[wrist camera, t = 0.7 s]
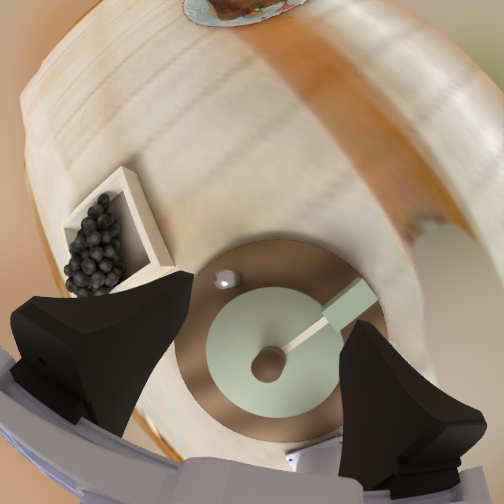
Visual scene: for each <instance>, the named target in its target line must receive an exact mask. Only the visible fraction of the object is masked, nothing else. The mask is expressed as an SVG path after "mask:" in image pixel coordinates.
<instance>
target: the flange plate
mask: <svg viewBox="0 0 504 504" xmlns="http://www.w3.org/2000/svg"><path fill="white" fill-rule="evenodd" d="M377 300H378V298H377V297H376V295H375V294H374V293H373V291H372V290H371V289H370V287H369V286H368V285H367V283H366V282H365V281H364V279H362V278H359V277H357V278H356V279H355V280H354V281H353V282H351V283H350V284H349V285H348V286H347V287H345V288H344V289H343V290H342V291H341V292H339V293H338V294H337V295H336V296H334V297H333V298H332V299H331V300H329V301H328V302H327V303H326V304H324V305H322V304H320V303H319V302H318V301H317V300H315V299H314V298H312V297H310V296H309V295H307V294H304V293H302V292H300V291H297V290H294V289H289V288H284V287H264V288H260V289H255V290H252V291H249V292H246V293H244V294H242V295H240V296H238V297H236V298H235V299H233V300H232V301H230V302H229V303H228V304H227V305H226V306H224V307H223V308H222V310H221V311H220V312H219V313H218V314H217V316H216V317H215V319H214V321H213V323H212V325H211V327H210V329H209V333H208V336H207V342H206V358H207V364H208V368H209V371H210V374H211V376H212V378H213V380H214V382H215V384H216V385H217V387H218V388H219V389H220V391H221V392H222V393H223V394H224V395H225V396H226V397H227V398H228V399H229V400H230V401H231V402H232V403H234V404H235V405H237V406H238V407H240V408H242V409H244V410H246V411H248V412H250V413H253V414H256V415H259V416H264V417H271V418H284V417H291V416H296V415H299V414H302V413H305V412H307V411H309V410H311V409H313V408H315V407H316V406H318V405H319V404H320V403H322V402H323V401H324V400H325V399H326V398H327V397H328V396H329V395H330V394H331V393H332V391H333V390H334V388H335V387H336V385H337V384H338V381H339V354H340V352H341V350H342V348H343V346H344V343H343V338H342V335H341V332H340V330H341V329H343V328H344V327H345V326H347V325H348V324H349V323H350V322H352V321H353V320H354V319H355V318H357V317H358V316H359V315H360V314H362V313H363V312H364V311H365V310H366V309H368V308H369V307H370V306H371V305H372V304H374V303H375V302H376V301H377ZM267 346H276V347H278V348H280V349H281V350H283V352H284V353H285V355H286V364H285V367H284V369H283V372H282V374H281V376H280V377H279V379H277V380H276V381H274V382H271V383H264V382H261V381H259V380H257V379H256V378H255V377H254V376H253V374H252V372H251V364H252V361H253V360H254V358H255V357H256V356H257V355H258V353H259V352H260V351H261V350H262V349H263V348H265V347H267Z"/></svg>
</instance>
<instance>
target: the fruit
mask: <svg viewBox="0 0 504 504" xmlns="http://www.w3.org/2000/svg"><path fill="white" fill-rule="evenodd" d="M109 203H110V197H109V196H108V195H107V194H102V195H100V196H99V197H98V201H97V204H96V205H94V206H92V207H90V208H89V209H88V212H87V215H88V216H87V217H85V218H83V220H82V221H81V229H80V230H79V231H78V232H77V236H76V238H75V240H74V242H72V243H71V244H70V245H69V252H70V253H71V254H72V258H71V259H70V260H69V264H68V265H66V266H65V267H64V273H65V275H67V276H68V279H67V280H66V284H65V286H66V289H67V290H68V291H69V292H71V293H72V292H73V293H74V294H75V295H77V297H78V298H81V297H91V296H99V295H106V294H110V292H111V290H112V289H113V288H115V287H116V286H118V285H117V282H118V278H120V274H122V273H123V272H124V271H125V270H126V265H125V263H124V262H123V261H121V260H120V258H119V256H120V253H119V251H118V250H119V249H120V242H119V241H118V240H117V239H116V237H118V236H119V235H120V232H121V228H120V226H119V225H118V224H117V221H116V220H115V219H116V212H115V210H113V209H110V208H108V207H109ZM114 238H115V239H114ZM90 248H91V249H90Z"/></svg>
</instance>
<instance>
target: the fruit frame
mask: <svg viewBox="0 0 504 504" xmlns="http://www.w3.org/2000/svg"><path fill="white" fill-rule="evenodd" d="M122 191H123V192H124V195H125V198H126V201H127V203H128V206H129V209H130V212H131V214H132V217H133V220H134V222H135V225H136V228H137V230H138V233H139V235H140V238H141V240H142V243H143V245H144V248H145V250H146V252H147V255H148V257H149V260H150V262H151V263H150V264H148V265H147V266H145V267H144V268H142V269H141V270H139V271H138V272H136V273H135V274H133V275H132V276H131V277H129V278H128V279H126V280H125V281H123V282H122V283H121V284H119V285H118V286H116V287H115V288H113V289H112V290H111V292H110V294H111V293H116V292H120V291H124V290H128V289H131V288H134V287H137V286H140V285H143V284H146V283H149V282H151V281H153V280H155V279H156V278H158V277H159V276H161V275H163V274H164V273H166V272H167V271H169V270H170V269H172V268H174V267H175V265H174V262H173V260H172V258H171V256H170V254H169V251H168V249H167V247H166V245H165V242H164V240H163V238H162V235H161V233H160V231H159V229H158V226H157V224H156V221H155V219H154V217H153V214H152V212H151V209H150V207H149V204H148V202H147V199H146V197H145V194H144V192H143V189H142V187H141V184H140V182H139V179H138V176H137V174H136V173H135V172H133V171H131V170H129V169H127V168H125V167H123V166H121V167H119V168H118V169H117V170H116V171H115V172H114V173H113V174H111V175H110V176H109V177H108V178H107V179H106V180H105V181H104V182H103V183H101V184H100V185H99V186H98V187H97V188H96V189H95V190H94V191H93V192H92V193H91V194H90V195H89V196H88V197H87V198H86V199H85V200H84V201H83V202H82V203H81V204H80V205H79V206H78V207H77V208H76V209H75V210H74V211H73V212H72V213H71V214H70V215H69V216H68V217H67V218H66V219H65V220H64V221H63V222H62V223H61V224H60V225H59V228H60V232H61V236H62V240H63V244H64V248H65V252H66V256H67V259H68V263H69V260H70V259H71V258H72V254H71V253H70V252H69V245H70V244H71V243H72V242H74V240H75V238H76V236H77V232H78V231H79V230H80V229H81V221H82V220H83V218H85V217H87V216H88V215H87V212H88V209H89V208H90V207H92V206H94V205H96V204H97V201H98V197H99V196H100V195H102V194H107V195H108V196H109V197H110V201H112V200H113V199H114V198H115V197H116V196H117V195H119V194H120V193H121V192H122Z"/></svg>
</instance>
